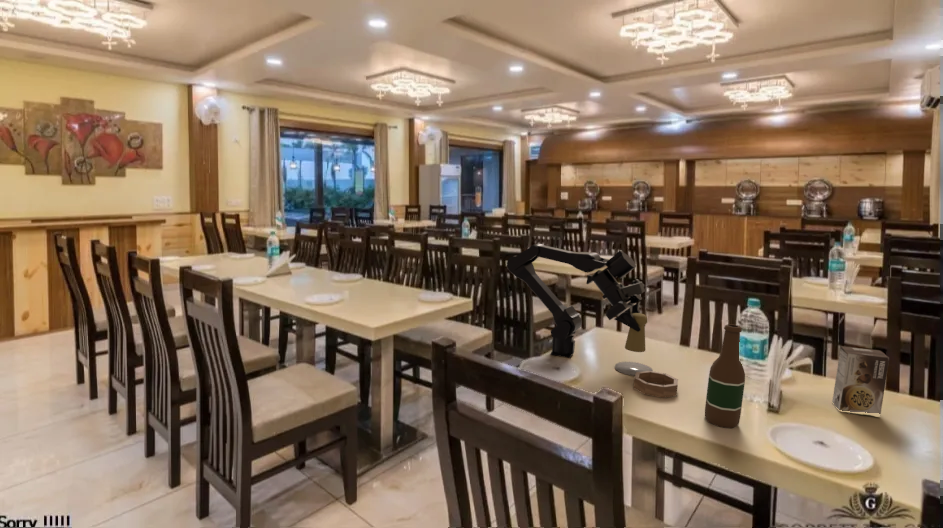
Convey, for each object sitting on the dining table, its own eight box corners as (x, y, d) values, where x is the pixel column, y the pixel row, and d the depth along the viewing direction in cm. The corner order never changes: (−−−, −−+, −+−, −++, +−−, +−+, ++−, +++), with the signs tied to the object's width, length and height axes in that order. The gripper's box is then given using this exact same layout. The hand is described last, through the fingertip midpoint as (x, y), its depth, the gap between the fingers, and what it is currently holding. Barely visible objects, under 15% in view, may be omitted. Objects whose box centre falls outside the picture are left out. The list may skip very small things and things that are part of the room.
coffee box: (870, 408, 139) (881, 350, 136) (880, 418, 133) (891, 357, 130) (830, 402, 141) (839, 345, 139) (838, 412, 135) (848, 352, 133)
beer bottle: (737, 432, 122) (750, 332, 118) (701, 422, 126) (712, 326, 122) (740, 419, 128) (753, 325, 125) (706, 411, 132) (717, 319, 129)
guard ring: (632, 392, 143) (633, 381, 142) (636, 378, 153) (636, 368, 153) (676, 400, 139) (677, 389, 138) (677, 385, 149) (678, 375, 148)
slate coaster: (612, 372, 157) (612, 370, 157) (617, 361, 167) (617, 359, 167) (651, 378, 153) (651, 376, 153) (653, 367, 163) (653, 365, 163)
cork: (649, 351, 157) (653, 316, 156) (632, 352, 155) (636, 316, 154) (637, 345, 163) (641, 310, 161) (620, 346, 161) (624, 311, 159)
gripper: (620, 275, 150) (655, 320, 146) (638, 267, 165) (670, 308, 161) (591, 297, 155) (624, 341, 151) (611, 288, 171) (642, 327, 167)
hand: (641, 328), depth 157 cm, fingers closed on cork, 5 cm apart
